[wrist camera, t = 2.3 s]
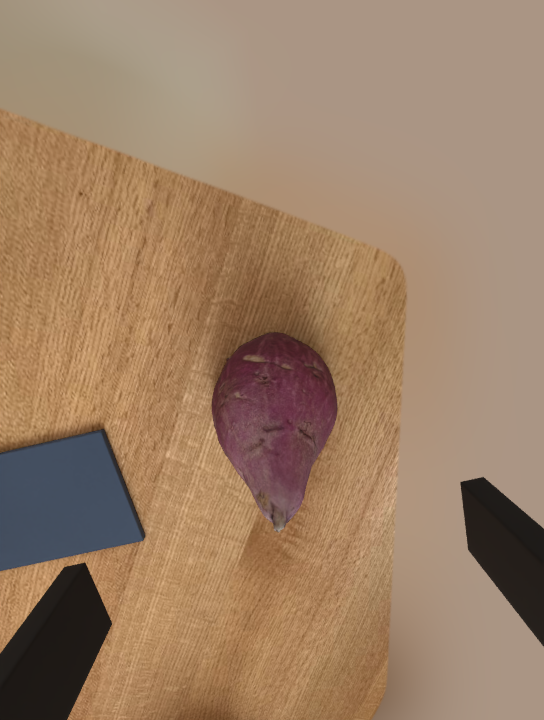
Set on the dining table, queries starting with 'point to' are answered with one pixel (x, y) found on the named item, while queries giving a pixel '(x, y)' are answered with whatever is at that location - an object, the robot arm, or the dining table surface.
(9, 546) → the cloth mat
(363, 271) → the dining table surface
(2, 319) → the dining table surface
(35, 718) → the robot arm
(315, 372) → the vegetable
